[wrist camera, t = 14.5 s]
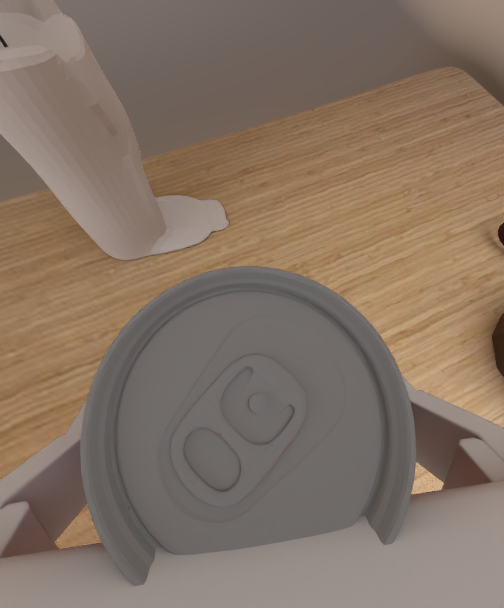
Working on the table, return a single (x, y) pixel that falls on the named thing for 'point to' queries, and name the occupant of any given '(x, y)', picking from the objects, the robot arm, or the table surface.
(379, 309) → the table surface
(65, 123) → the candle
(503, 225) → the watch
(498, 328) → the faceted ring
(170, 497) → the beverage can
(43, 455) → the robot arm
